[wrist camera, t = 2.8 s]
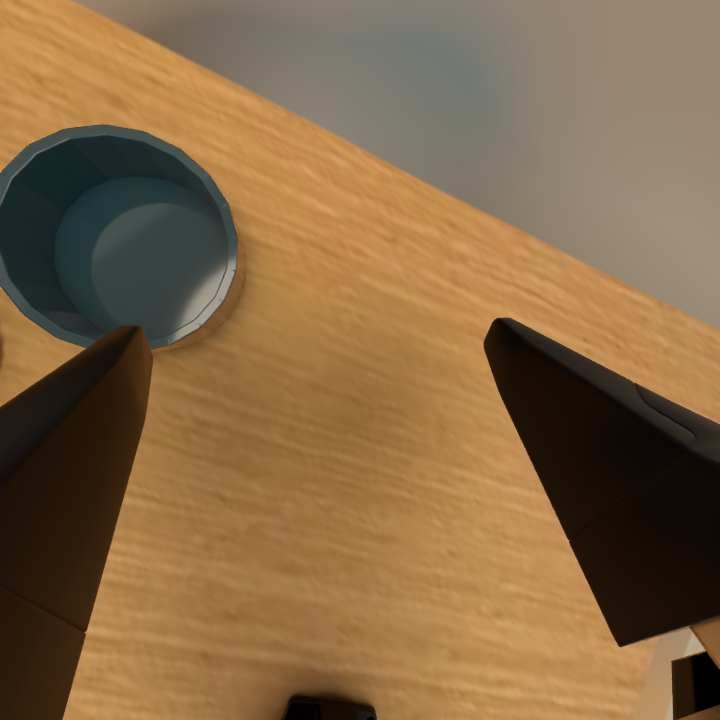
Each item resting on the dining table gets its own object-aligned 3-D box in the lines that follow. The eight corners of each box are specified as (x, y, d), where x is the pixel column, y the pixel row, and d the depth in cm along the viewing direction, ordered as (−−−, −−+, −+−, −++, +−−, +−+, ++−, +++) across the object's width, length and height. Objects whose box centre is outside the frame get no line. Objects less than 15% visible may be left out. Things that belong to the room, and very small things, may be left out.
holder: (208, 375, 22) (190, 383, 17) (19, 310, 20) (-57, 300, 15) (270, 221, 22) (268, 191, 18) (93, 139, 20) (39, 80, 15)
